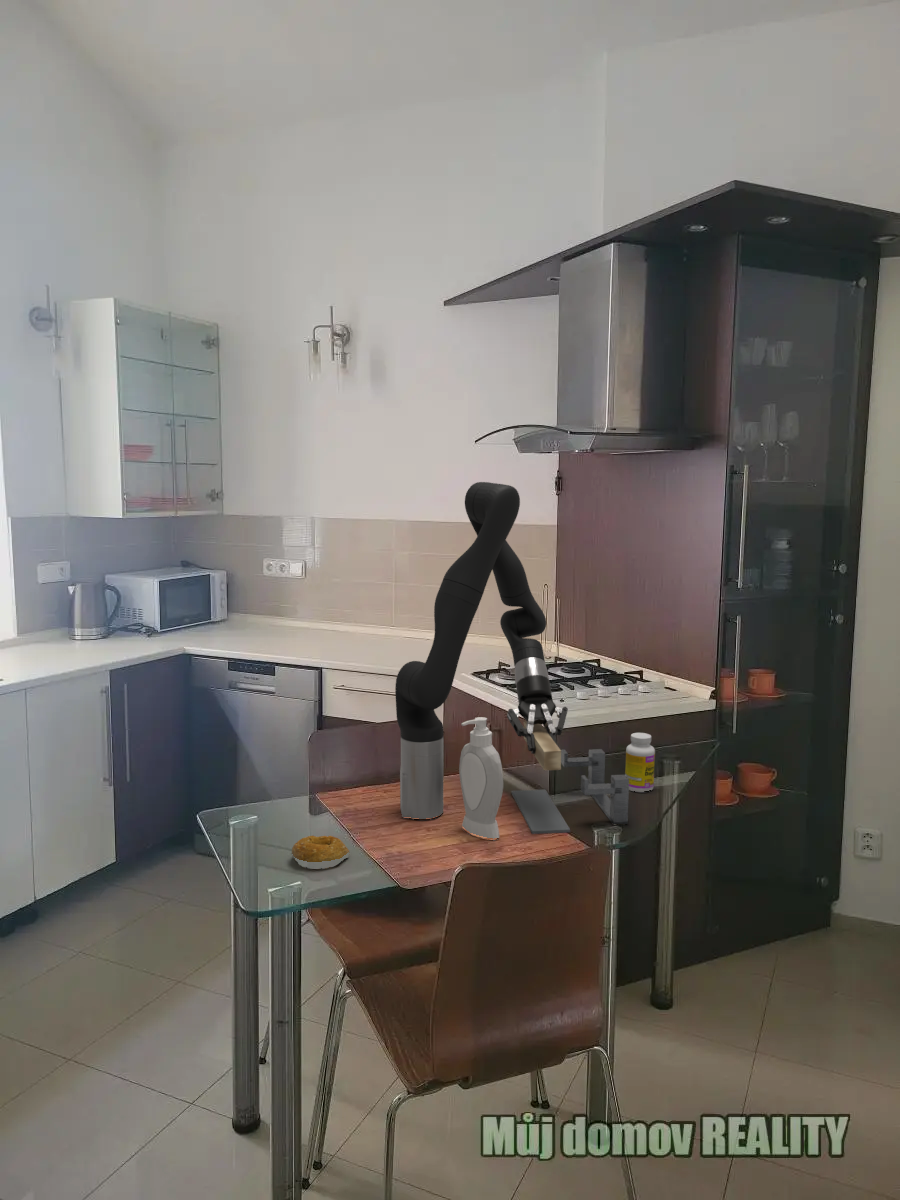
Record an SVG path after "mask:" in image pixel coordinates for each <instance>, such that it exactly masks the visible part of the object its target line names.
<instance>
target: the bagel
mask: <svg viewBox="0 0 900 1200" xmlns="http://www.w3.org/2000/svg"><path fill="white" fill-rule="evenodd" d="M348 852H349V853H350V850H349V849H348V847H347V846H346V844H345V843H344V842H343V841H342V840H341V839H340V838H339V837H335V836H333V835H328V836H326V835H321V836H314V835H309V836H308V835H307V836H306V837H305V836H304V837H302V838H301V839H299V840H298V841H297V842H295V843H294V844H293V846H292V848H291V855H292V854H293V855H292V857H293V856H294V857H295V858H297V859H299V860H303V861H307V862H322V861H331V860H335V859H340V858H342V857H343V856H344V855H346V854H347V853H348Z"/></svg>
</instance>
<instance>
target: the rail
mask: <svg viewBox="0 0 900 1200" xmlns="http://www.w3.org/2000/svg"><path fill="white" fill-rule="evenodd" d="M526 726H527V721H526V720H525V721H523V727H524V728H525V729H526ZM533 734H534V739H535V746H536V751H535V754H533V755H534V757H535V759H536V760H537V762H538V764H539V765H540V766H541V768H542V769H543V771H559V770H560V771H561V770H562V764H561V750H562V749H561V748H560V747H559V746H558V744H557V745H556V743H555V742H554V741H553V739H552V738H551V736H549V734H548V732H547V731H546V730H545V728H544V726H543V724H535V725H533ZM523 740H524V741H525V743H526V744H527V739H526V737H524V736H523Z"/></svg>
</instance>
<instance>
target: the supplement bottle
mask: <svg viewBox="0 0 900 1200" xmlns="http://www.w3.org/2000/svg"><path fill="white" fill-rule="evenodd" d="M630 742H631V743H630V744H628V745H627V746H626V748H625V749H626V750H625V771H624V775H626V777H627V778H628V779H629V791H632V792H634V791H635V792H636V793H645V792H644V791H649V790H651V791H652V790H654V785H655V783H654V782H655V761H656V749H655V747H654V746H653V745H651V742H652V735H651V734H649V733H647V732H646V733H645V732H634V733H631V734H630ZM649 792H650V791H649Z"/></svg>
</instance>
